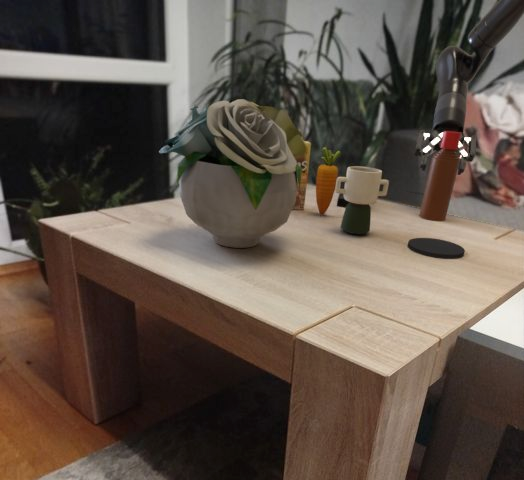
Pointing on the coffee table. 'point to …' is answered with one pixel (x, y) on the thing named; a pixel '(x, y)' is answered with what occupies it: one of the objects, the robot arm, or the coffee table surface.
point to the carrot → (326, 180)
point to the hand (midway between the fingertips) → (441, 170)
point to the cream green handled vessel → (360, 196)
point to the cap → (450, 140)
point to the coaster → (436, 248)
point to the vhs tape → (342, 200)
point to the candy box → (302, 177)
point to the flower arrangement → (238, 170)
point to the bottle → (439, 185)
